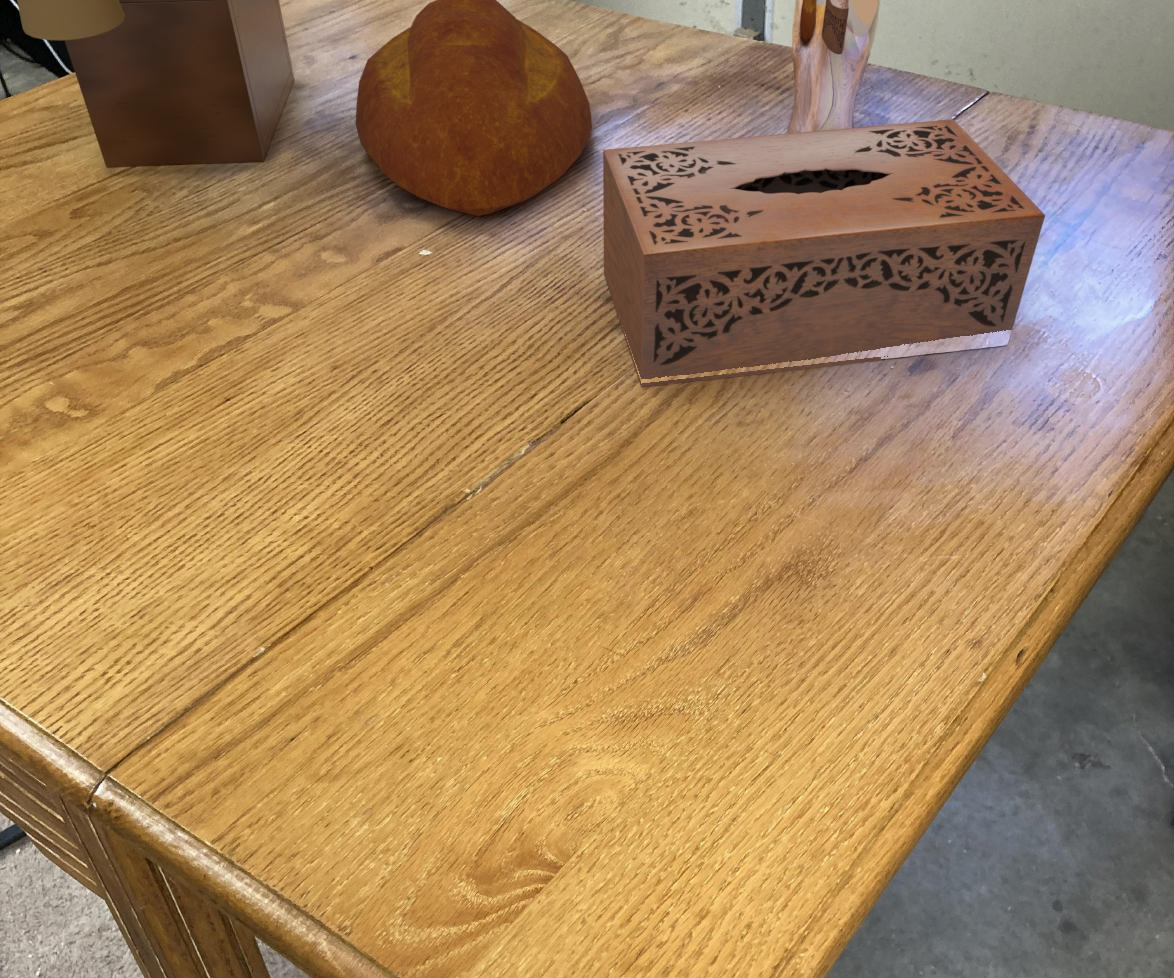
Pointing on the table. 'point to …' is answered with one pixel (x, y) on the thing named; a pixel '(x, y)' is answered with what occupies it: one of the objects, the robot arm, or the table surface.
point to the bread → (471, 108)
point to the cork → (69, 18)
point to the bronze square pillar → (186, 81)
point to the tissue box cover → (810, 246)
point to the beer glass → (829, 60)
